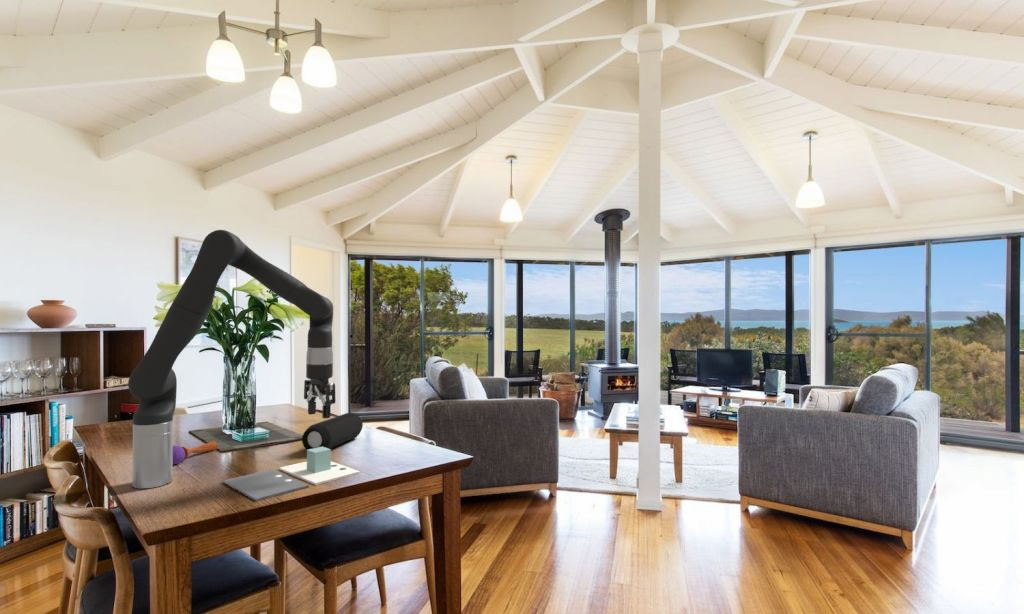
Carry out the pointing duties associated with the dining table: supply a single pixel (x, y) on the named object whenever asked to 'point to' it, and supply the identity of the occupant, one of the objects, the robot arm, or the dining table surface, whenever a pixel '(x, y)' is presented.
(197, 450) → the kendama
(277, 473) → the two dot pad
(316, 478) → the three dot pad
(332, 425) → the portable speaker
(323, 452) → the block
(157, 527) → the dining table surface
